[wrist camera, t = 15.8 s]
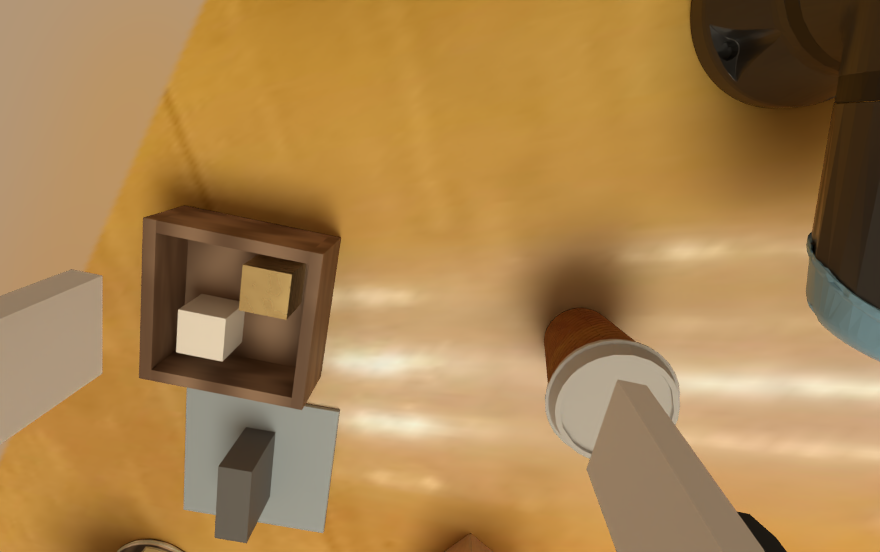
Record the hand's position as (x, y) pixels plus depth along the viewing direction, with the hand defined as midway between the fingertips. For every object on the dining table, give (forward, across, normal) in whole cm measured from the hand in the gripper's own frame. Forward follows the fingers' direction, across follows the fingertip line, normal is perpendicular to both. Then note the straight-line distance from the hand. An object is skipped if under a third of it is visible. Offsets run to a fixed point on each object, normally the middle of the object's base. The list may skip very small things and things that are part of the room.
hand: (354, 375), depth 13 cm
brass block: (+31, -12, -10) cm, 34 cm away
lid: (+32, -12, -30) cm, 46 cm away
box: (+32, -14, -12) cm, 37 cm away
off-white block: (+31, -16, -14) cm, 38 cm away
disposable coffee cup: (+32, +16, -10) cm, 37 cm away
